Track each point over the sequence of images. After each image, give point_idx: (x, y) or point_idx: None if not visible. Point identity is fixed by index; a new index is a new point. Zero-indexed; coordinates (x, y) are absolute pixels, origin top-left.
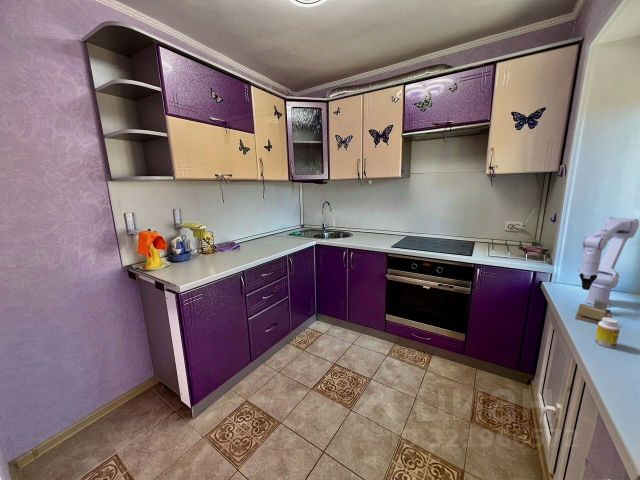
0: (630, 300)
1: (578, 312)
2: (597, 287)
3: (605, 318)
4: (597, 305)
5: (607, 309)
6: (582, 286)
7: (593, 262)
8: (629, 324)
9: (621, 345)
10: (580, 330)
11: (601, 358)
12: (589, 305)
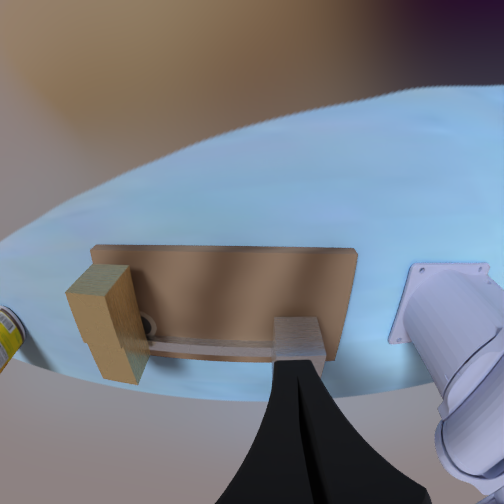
0: None
1: (87, 271)
2: (456, 374)
3: None
4: (274, 347)
5: (335, 351)
6: (273, 384)
7: None
8: (225, 392)
9: (39, 352)
10: (20, 271)
11: None
12: (347, 290)
